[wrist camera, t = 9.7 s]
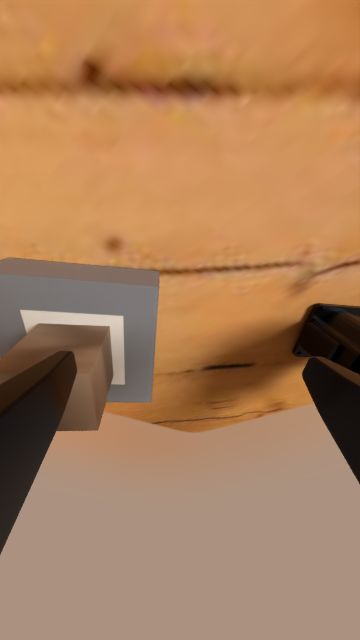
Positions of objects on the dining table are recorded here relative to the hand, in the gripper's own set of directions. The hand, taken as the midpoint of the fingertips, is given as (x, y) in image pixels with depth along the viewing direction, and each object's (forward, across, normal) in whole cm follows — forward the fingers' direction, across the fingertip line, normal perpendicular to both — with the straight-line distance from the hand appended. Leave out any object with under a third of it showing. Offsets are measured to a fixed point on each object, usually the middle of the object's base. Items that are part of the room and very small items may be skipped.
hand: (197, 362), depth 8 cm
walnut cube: (+8, +8, +6) cm, 12 cm away
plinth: (+12, +8, +6) cm, 15 cm away
